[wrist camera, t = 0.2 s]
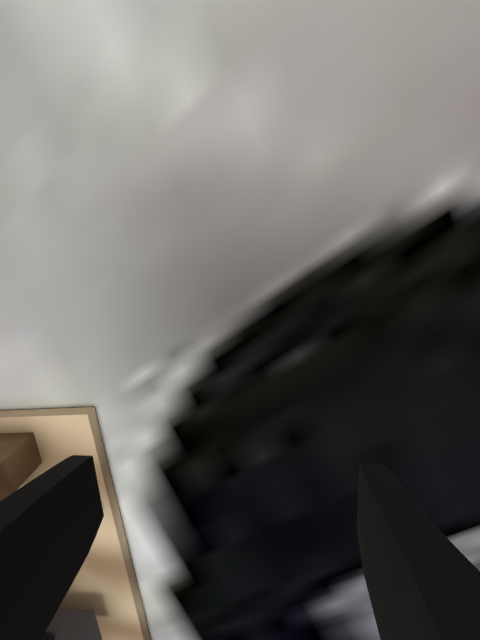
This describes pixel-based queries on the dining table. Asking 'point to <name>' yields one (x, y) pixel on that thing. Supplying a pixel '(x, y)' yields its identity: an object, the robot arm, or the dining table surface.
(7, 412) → the pipe stand
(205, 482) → the dining table surface
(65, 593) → the robot arm
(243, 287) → the dining table surface
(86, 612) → the charcoal rectangular prism
